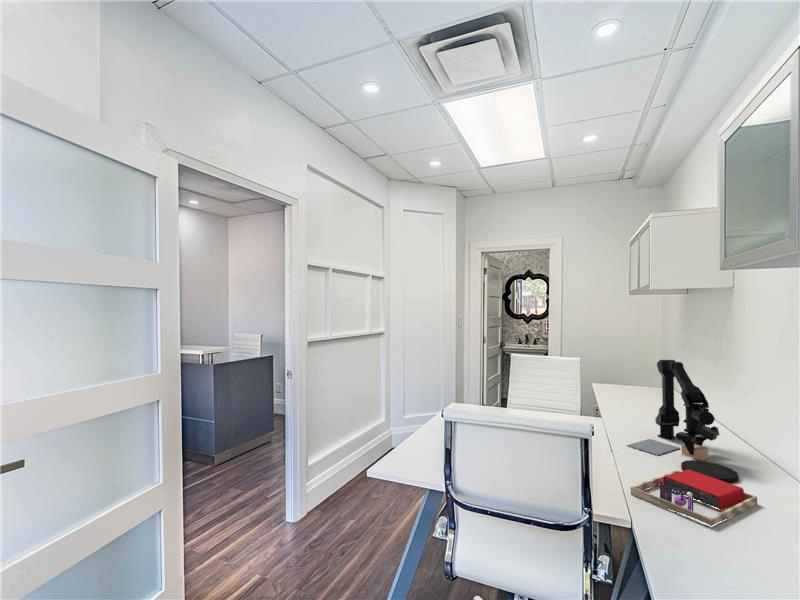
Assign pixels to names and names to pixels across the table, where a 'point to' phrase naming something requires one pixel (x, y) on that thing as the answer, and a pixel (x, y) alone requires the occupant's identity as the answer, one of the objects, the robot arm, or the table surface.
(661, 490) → the game card
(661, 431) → the robot arm
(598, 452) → the table surface
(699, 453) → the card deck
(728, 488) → the red device housing
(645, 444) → the mat
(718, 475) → the wireless charger
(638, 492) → the organizer frame
